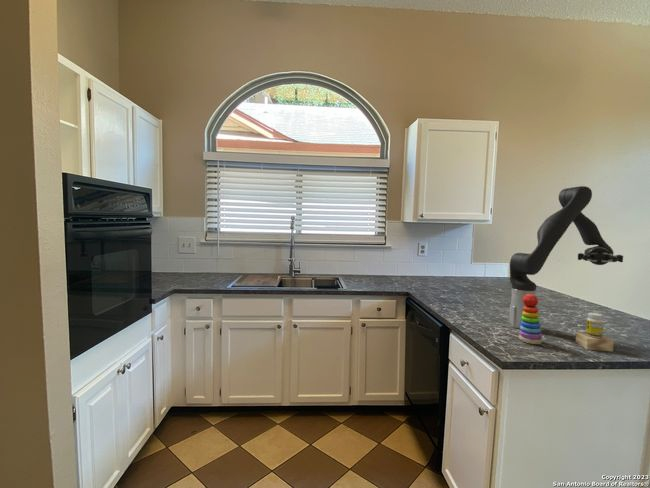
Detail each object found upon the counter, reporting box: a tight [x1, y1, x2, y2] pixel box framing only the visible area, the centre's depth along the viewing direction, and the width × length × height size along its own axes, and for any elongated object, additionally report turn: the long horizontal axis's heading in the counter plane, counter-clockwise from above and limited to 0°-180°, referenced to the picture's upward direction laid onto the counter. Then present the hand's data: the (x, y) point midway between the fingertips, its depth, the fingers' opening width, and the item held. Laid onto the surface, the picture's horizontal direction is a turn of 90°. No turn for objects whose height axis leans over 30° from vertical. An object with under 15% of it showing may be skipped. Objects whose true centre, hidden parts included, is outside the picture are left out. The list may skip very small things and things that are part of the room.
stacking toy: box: [518, 294, 544, 345], centre depth 123 cm, size 8×8×19 cm
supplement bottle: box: [585, 312, 604, 338], centre depth 117 cm, size 5×5×8 cm
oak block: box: [575, 331, 615, 352], centre depth 118 cm, size 8×8×4 cm
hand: (599, 258), depth 127 cm, fingers open, 8 cm apart
